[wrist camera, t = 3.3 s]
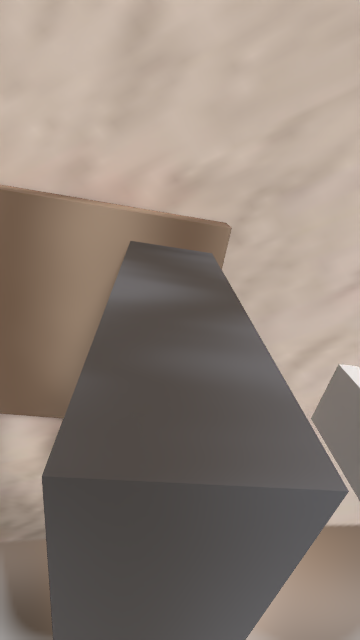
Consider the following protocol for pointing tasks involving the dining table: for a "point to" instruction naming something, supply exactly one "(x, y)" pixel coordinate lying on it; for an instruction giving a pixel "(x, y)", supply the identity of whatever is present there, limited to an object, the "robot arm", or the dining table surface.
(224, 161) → the dining table surface
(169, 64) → the dining table surface
